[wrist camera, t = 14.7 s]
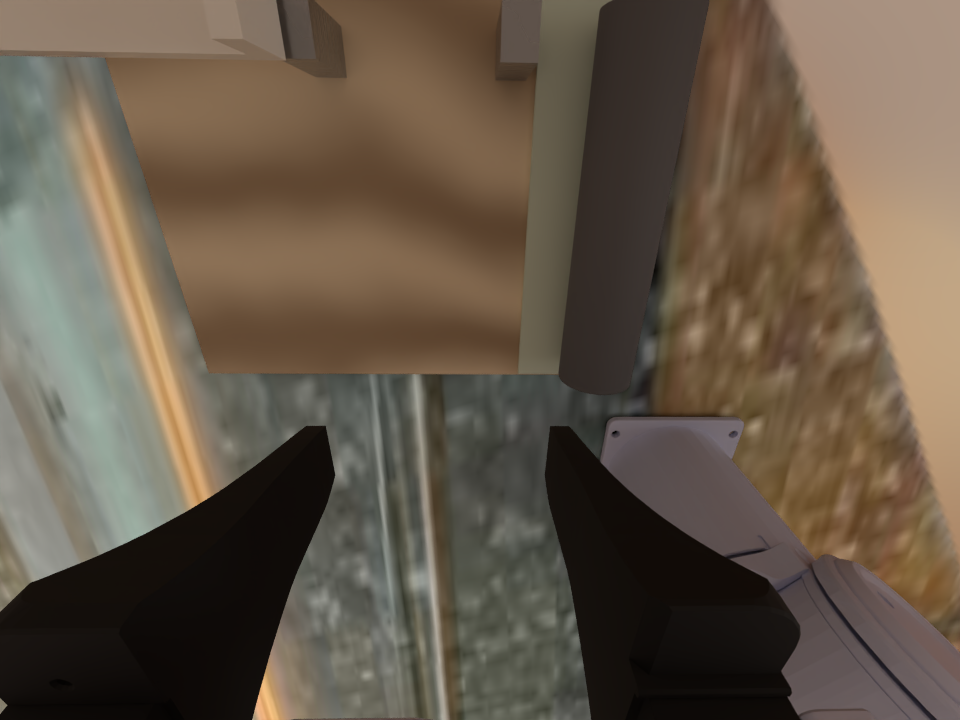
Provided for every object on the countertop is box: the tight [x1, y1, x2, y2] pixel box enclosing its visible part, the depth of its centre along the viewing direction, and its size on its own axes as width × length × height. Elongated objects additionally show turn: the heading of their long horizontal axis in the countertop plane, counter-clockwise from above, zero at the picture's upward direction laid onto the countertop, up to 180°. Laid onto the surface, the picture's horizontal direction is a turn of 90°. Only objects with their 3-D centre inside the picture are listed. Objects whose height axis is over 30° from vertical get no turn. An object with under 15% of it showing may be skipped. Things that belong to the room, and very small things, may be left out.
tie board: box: [105, 0, 612, 375], centre depth 17 cm, size 17×22×4 cm
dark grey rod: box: [558, 0, 709, 395], centre depth 17 cm, size 14×3×3 cm
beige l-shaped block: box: [0, 0, 286, 61], centre depth 11 cm, size 2×9×3 cm, turn 89°
